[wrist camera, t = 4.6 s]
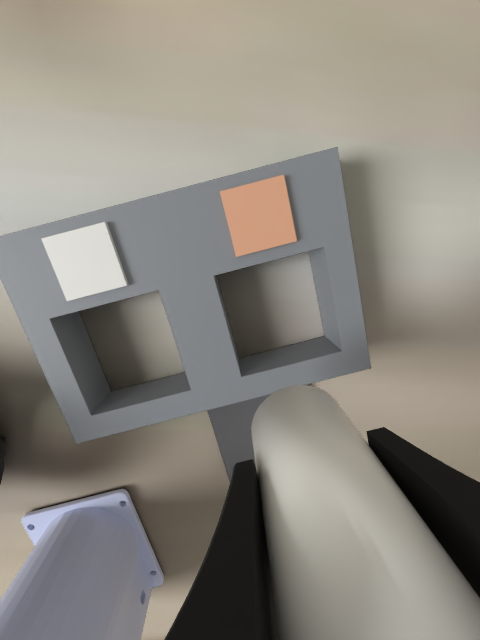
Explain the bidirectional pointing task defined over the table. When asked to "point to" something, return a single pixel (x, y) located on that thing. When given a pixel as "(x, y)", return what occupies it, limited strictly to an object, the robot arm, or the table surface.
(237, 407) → the plug mat
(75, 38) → the table surface
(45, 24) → the table surface
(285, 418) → the plug
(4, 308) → the table surface
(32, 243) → the socket board
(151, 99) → the table surface
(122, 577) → the robot arm
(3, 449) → the muzzle brake
